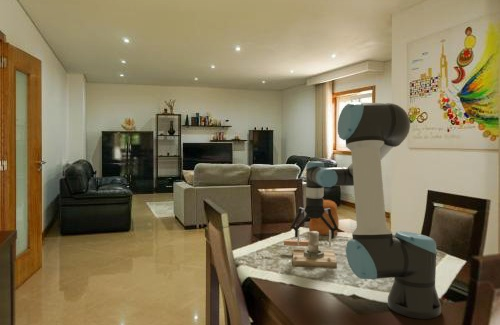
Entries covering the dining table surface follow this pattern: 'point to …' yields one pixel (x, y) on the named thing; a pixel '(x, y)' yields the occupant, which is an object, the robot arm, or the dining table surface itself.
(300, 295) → the dining table surface
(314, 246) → the leg peg
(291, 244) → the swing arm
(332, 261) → the stool seat
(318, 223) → the bread
